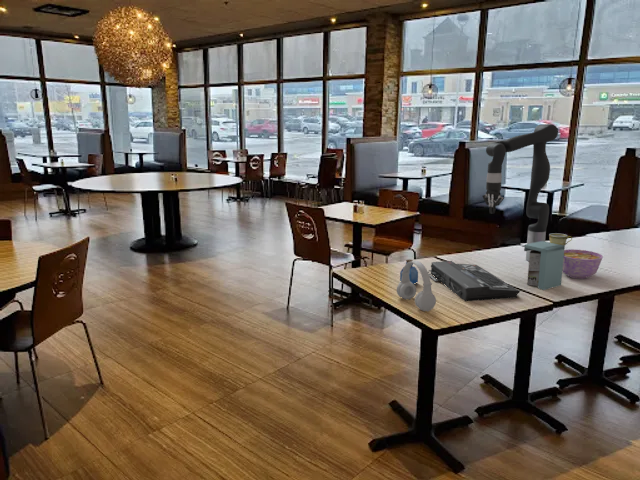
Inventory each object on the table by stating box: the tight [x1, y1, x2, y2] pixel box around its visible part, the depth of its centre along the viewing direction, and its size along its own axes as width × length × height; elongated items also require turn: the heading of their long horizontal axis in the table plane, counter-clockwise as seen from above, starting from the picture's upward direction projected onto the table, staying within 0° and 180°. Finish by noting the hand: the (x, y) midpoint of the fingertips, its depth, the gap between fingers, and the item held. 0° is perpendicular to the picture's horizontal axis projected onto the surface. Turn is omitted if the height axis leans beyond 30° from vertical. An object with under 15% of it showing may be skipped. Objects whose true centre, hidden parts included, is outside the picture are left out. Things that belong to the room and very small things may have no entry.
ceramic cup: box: [548, 232, 573, 247], centre depth 292 cm, size 13×10×10 cm
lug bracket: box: [523, 241, 566, 291], centre depth 231 cm, size 13×12×20 cm
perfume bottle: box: [399, 259, 419, 284], centre depth 238 cm, size 6×6×12 cm
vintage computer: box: [428, 260, 521, 302], centre depth 234 cm, size 43×29×8 cm
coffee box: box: [526, 250, 541, 287], centre depth 234 cm, size 9×6×16 cm
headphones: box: [396, 260, 437, 312], centre depth 209 cm, size 20×8×19 cm, turn 21°
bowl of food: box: [562, 249, 604, 280], centre depth 243 cm, size 20×20×12 cm
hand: (492, 213), depth 261 cm, fingers closed
